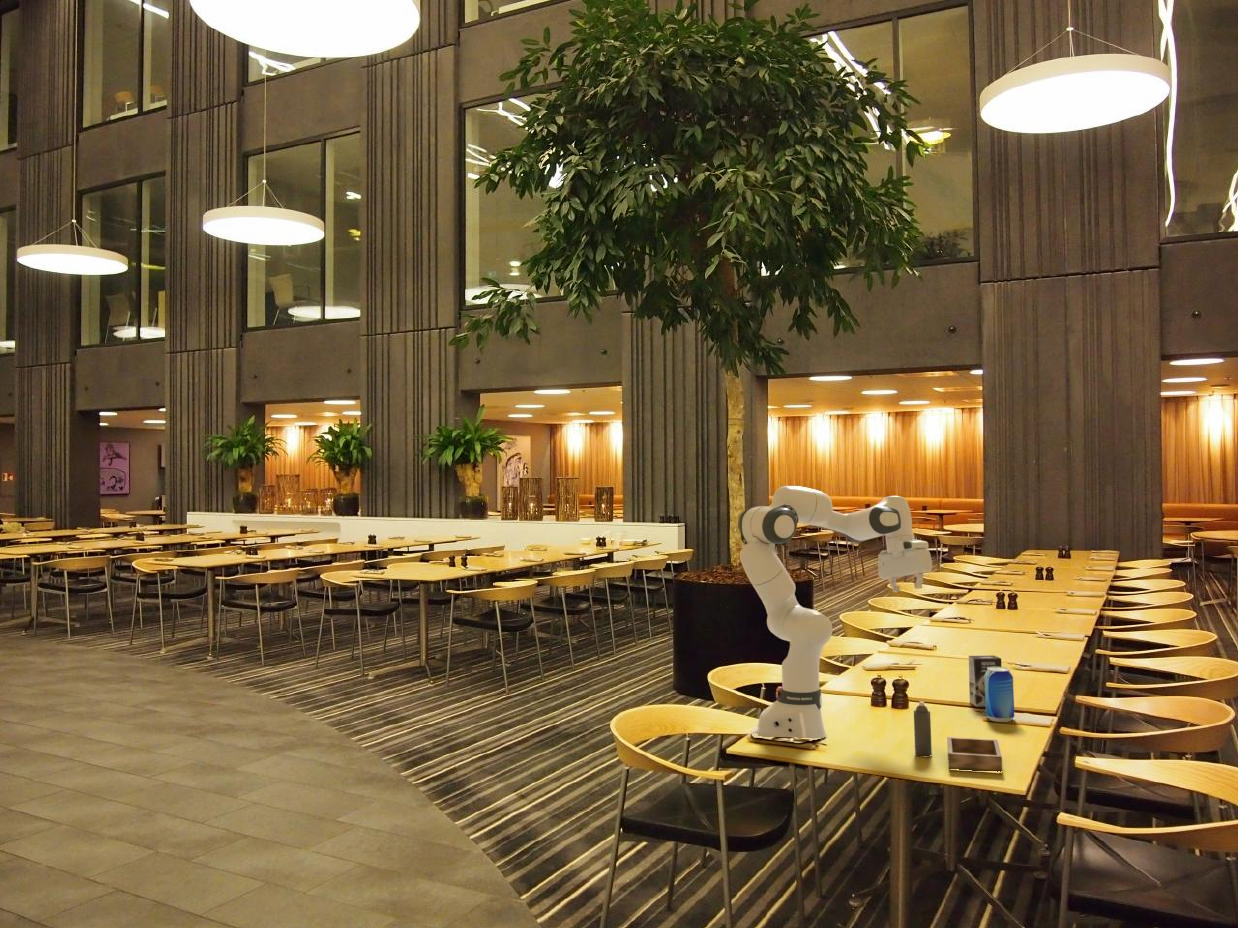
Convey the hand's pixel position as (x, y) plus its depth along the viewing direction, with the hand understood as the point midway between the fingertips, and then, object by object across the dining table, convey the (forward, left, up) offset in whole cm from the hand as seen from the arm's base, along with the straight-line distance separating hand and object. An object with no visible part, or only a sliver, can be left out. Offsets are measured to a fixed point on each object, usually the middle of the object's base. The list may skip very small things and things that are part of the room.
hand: (907, 590), depth 291 cm
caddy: (+16, -37, -42) cm, 59 cm away
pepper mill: (+3, -32, -42) cm, 53 cm away
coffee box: (+23, +31, -42) cm, 57 cm away
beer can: (+26, +12, -42) cm, 51 cm away
